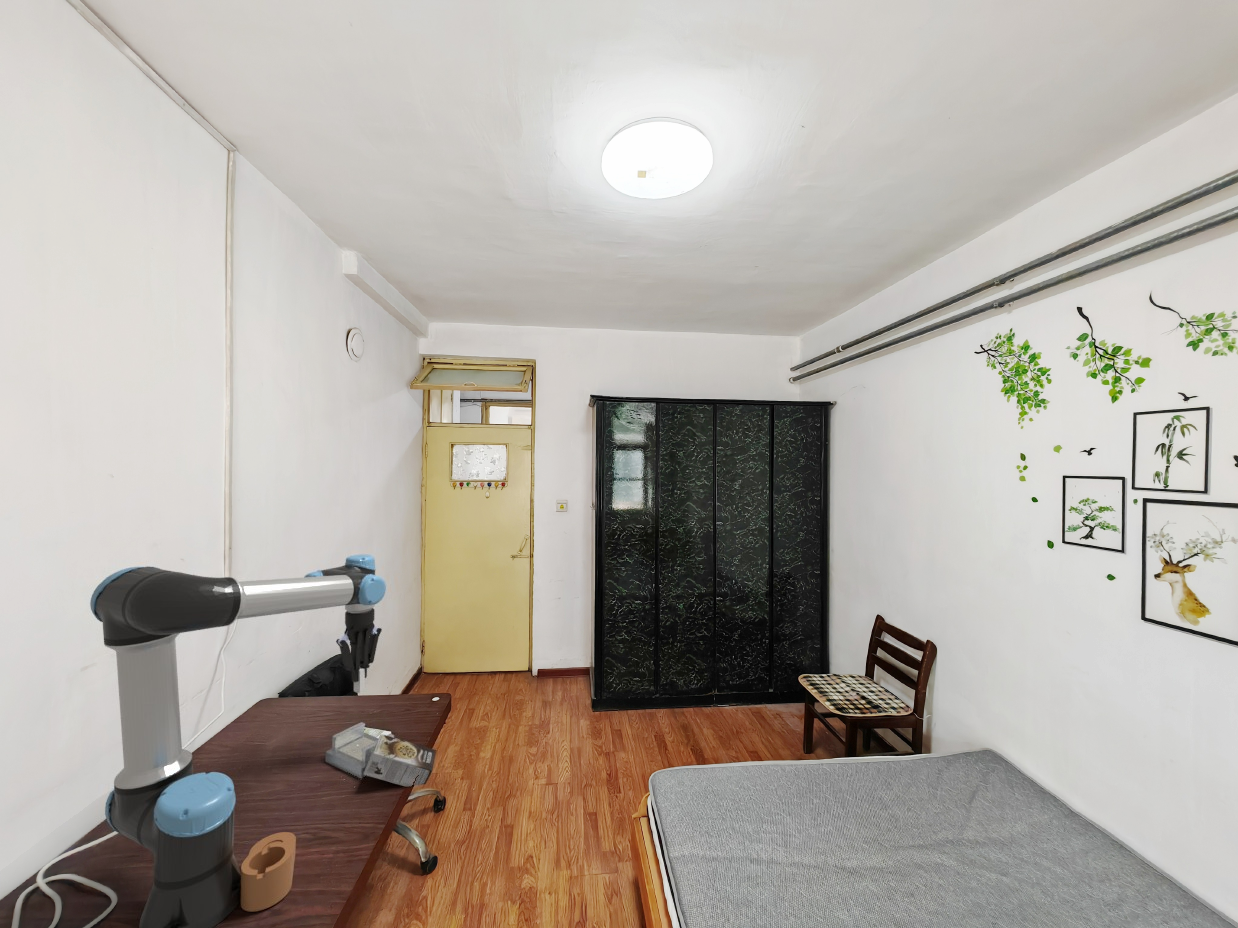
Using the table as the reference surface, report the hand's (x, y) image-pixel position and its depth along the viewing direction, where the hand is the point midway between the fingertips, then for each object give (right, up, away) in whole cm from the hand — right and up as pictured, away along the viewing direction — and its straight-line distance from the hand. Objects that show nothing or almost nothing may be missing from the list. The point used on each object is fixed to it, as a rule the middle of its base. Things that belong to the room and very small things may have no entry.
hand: (359, 691), depth 143 cm
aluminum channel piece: (+1, -20, 0) cm, 20 cm away
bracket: (+2, -20, -40) cm, 45 cm away
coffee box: (+8, -12, -10) cm, 18 cm away
